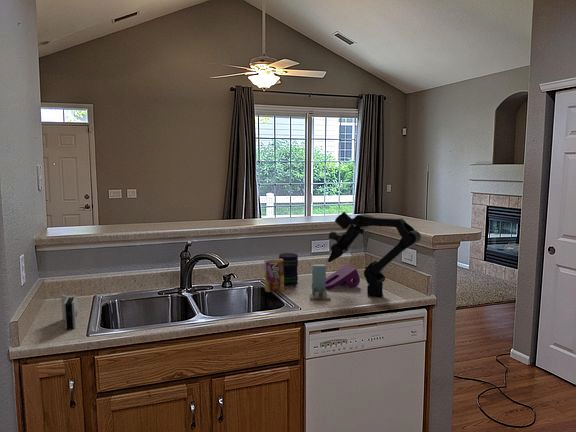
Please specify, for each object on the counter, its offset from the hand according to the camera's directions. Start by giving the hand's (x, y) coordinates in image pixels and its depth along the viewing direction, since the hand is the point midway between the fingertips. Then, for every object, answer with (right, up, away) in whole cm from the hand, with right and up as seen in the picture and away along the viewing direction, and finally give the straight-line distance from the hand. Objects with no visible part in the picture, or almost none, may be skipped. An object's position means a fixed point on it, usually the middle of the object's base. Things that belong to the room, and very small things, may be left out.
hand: (330, 260), depth 215 cm
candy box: (-27, -15, -1) cm, 31 cm away
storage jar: (-21, -13, +12) cm, 27 cm away
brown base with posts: (-6, -16, -13) cm, 22 cm away
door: (-6, -15, -6) cm, 18 cm away
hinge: (-105, -20, -45) cm, 116 cm away
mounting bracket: (+5, -14, +6) cm, 17 cm away
